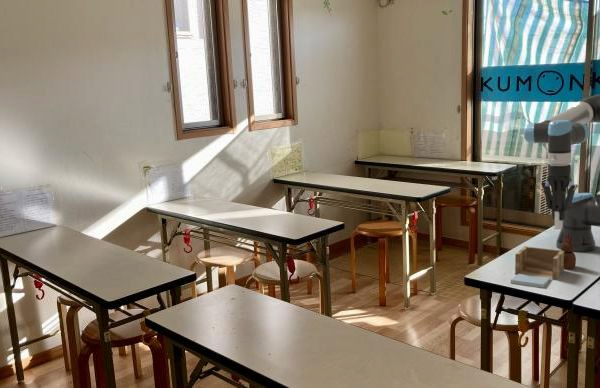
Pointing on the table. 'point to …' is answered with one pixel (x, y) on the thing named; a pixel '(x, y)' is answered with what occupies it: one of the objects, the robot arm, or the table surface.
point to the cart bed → (539, 262)
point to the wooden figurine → (568, 252)
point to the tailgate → (530, 280)
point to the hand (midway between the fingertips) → (558, 228)
